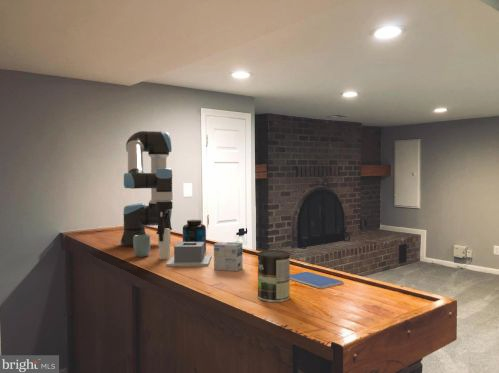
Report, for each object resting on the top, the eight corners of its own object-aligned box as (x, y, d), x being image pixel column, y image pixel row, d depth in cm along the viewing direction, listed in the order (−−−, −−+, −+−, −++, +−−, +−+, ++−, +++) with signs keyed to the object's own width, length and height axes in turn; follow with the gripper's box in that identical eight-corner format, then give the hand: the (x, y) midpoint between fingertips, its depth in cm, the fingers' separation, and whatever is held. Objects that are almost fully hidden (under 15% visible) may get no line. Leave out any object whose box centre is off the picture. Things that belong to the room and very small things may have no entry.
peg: (161, 257, 185) (161, 228, 184) (169, 257, 185) (169, 228, 184) (159, 259, 181) (159, 229, 180) (168, 259, 181) (167, 229, 180)
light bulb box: (243, 268, 163) (243, 242, 162) (237, 271, 156) (237, 245, 156) (219, 266, 166) (219, 241, 166) (213, 269, 160) (213, 243, 160)
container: (178, 252, 196) (178, 221, 195) (190, 249, 207) (190, 218, 206) (198, 254, 191) (198, 222, 191) (210, 250, 202) (210, 219, 202)
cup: (145, 258, 183) (145, 237, 183) (130, 257, 185) (130, 236, 184) (153, 255, 191) (152, 234, 190) (138, 254, 192) (138, 234, 192)
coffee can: (259, 303, 117) (259, 256, 117) (256, 293, 127) (256, 250, 127) (293, 302, 118) (293, 256, 117) (286, 292, 128) (286, 249, 128)
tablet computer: (282, 278, 147) (283, 275, 147) (307, 274, 154) (307, 270, 154) (320, 290, 131) (320, 287, 131) (344, 284, 138) (344, 281, 138)
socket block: (173, 257, 184) (173, 241, 184) (211, 257, 184) (211, 240, 184) (165, 266, 166) (165, 247, 166) (207, 266, 166) (207, 247, 166)
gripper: (161, 199, 195) (162, 241, 195) (149, 202, 170) (150, 250, 170) (176, 199, 195) (177, 241, 195) (167, 202, 170) (167, 250, 170)
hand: (164, 245), depth 182 cm, fingers open, 13 cm apart
